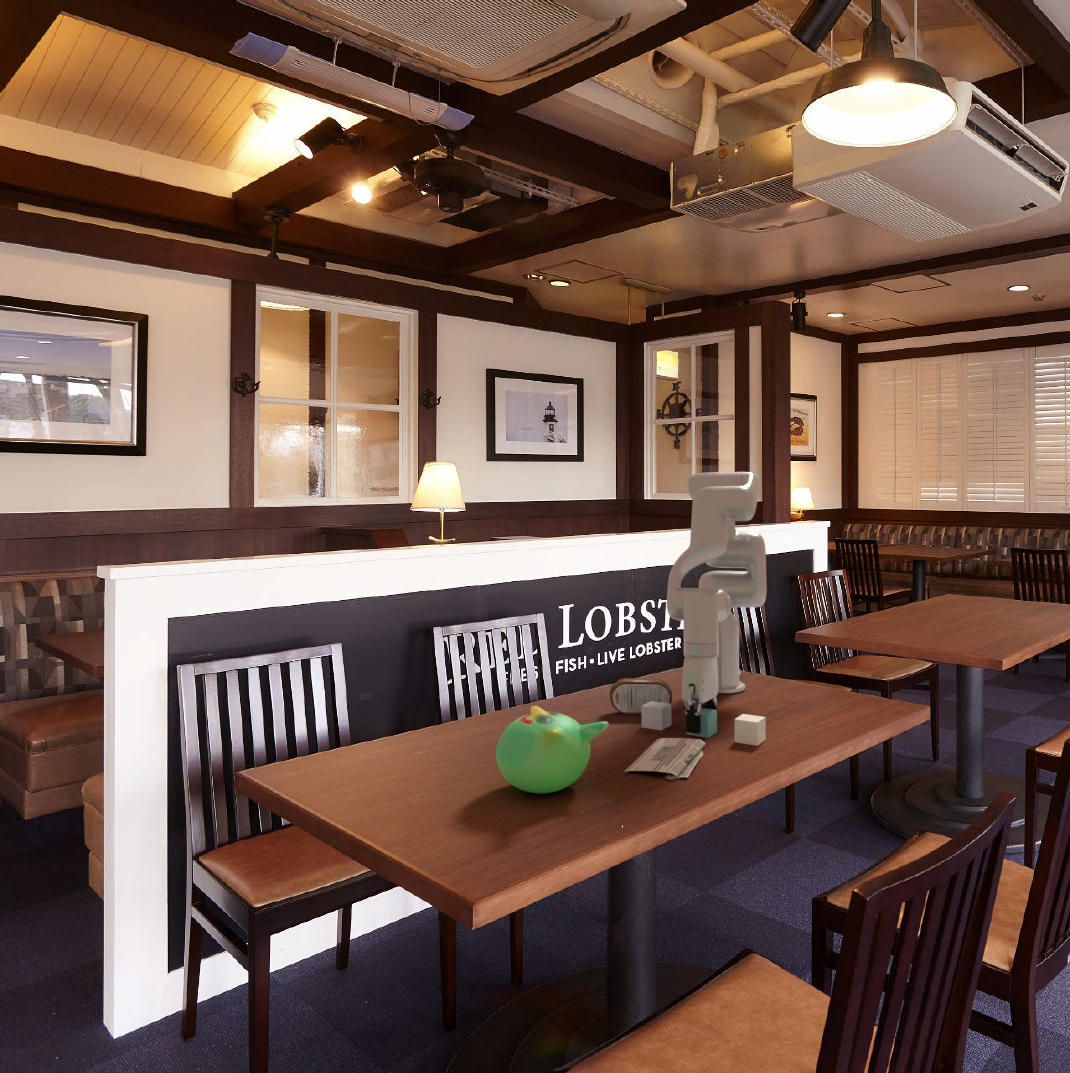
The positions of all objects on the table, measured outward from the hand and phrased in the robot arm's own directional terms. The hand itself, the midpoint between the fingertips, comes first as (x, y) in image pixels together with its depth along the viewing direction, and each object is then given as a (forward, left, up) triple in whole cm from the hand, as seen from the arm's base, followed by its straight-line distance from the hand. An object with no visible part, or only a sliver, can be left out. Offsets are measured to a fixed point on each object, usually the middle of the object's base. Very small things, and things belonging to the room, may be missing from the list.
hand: (701, 727), depth 187 cm
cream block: (0, +11, -1) cm, 11 cm away
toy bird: (+47, -10, -1) cm, 48 cm away
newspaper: (+20, +2, -2) cm, 20 cm away
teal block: (0, 0, -1) cm, 1 cm away
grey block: (0, -11, -1) cm, 11 cm away
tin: (-8, -19, -2) cm, 21 cm away
